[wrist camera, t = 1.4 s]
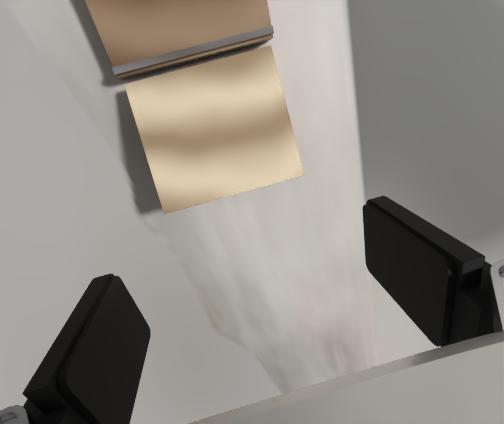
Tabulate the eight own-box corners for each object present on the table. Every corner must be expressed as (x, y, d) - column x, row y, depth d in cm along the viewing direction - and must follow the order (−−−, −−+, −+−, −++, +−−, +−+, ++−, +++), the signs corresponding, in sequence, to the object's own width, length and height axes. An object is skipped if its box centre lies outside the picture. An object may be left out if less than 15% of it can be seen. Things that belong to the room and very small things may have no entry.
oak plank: (131, 91, 23) (124, 84, 22) (268, 55, 23) (270, 45, 22) (168, 212, 24) (164, 214, 22) (300, 176, 24) (304, 174, 23)
